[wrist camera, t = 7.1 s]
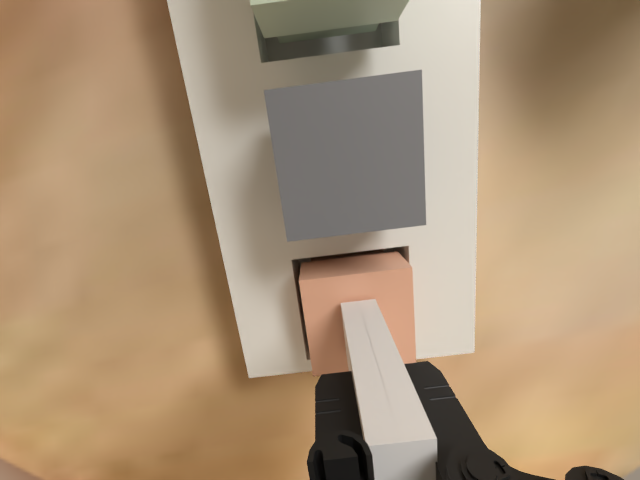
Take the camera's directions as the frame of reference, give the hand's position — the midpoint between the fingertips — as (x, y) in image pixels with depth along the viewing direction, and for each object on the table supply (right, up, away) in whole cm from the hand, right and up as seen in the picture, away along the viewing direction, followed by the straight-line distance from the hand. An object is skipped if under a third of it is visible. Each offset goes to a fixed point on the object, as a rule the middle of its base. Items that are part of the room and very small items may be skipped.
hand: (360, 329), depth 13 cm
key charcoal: (-1, +7, +1) cm, 8 cm away
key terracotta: (0, +1, +4) cm, 4 cm away
